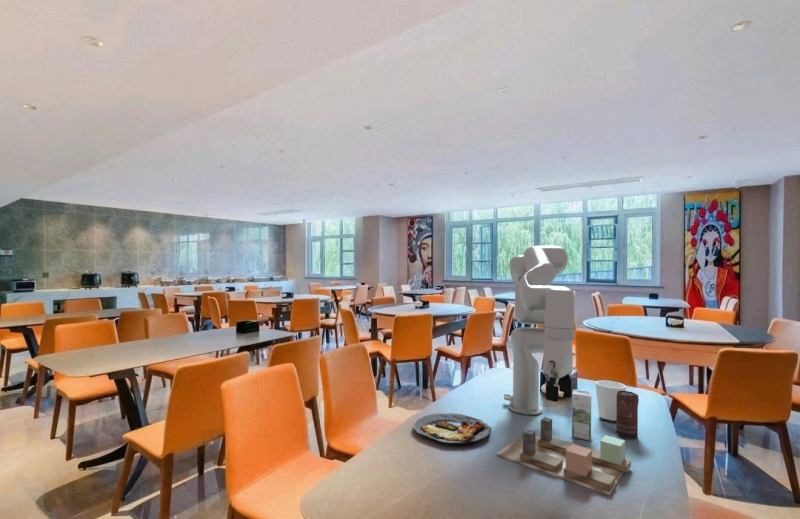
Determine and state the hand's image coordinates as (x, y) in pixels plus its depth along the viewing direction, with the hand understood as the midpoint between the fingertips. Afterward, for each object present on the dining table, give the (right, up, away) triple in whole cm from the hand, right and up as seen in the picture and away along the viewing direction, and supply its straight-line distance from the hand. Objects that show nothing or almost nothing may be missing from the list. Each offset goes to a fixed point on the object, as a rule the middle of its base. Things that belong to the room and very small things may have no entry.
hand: (558, 396), depth 109 cm
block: (+3, -18, -5) cm, 18 cm away
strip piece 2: (+5, -20, -6) cm, 22 cm away
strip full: (+9, -19, +7) cm, 22 cm away
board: (+3, -20, +5) cm, 21 cm away
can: (+31, -21, +23) cm, 44 cm away
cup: (+33, -21, +37) cm, 54 cm away
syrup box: (+16, -21, +22) cm, 34 cm away
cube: (+15, -18, +1) cm, 24 cm away
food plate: (-26, -21, +24) cm, 41 cm away
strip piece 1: (-4, -19, +2) cm, 20 cm away
